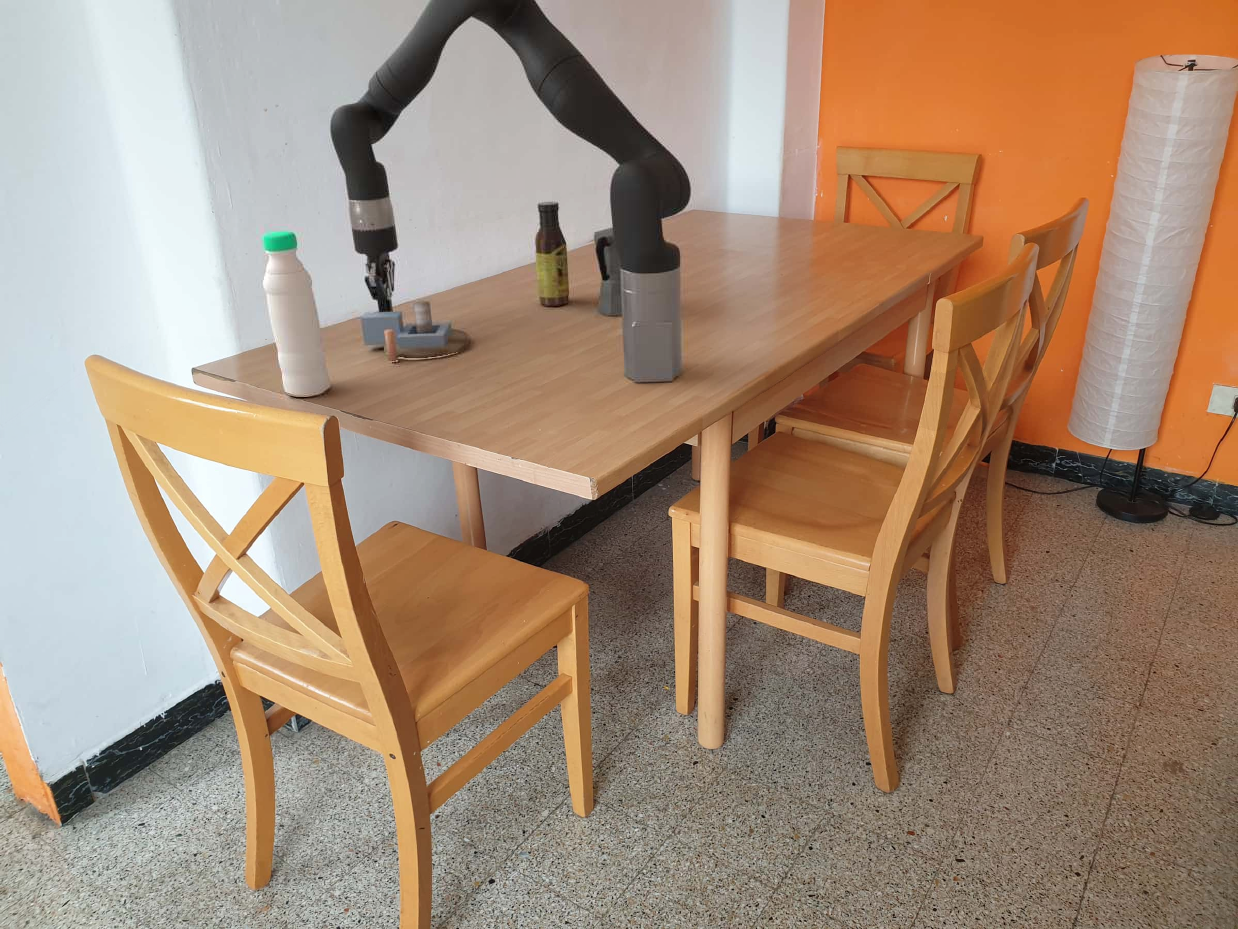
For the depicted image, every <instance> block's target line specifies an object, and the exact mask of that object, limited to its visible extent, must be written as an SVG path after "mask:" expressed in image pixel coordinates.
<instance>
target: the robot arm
mask: <svg viewBox="0 0 1238 929" xmlns="http://www.w3.org/2000/svg"><path fill="white" fill-rule="evenodd" d="M470 18H473V19H475V20H477V21H479V22H481V23H483V24H485V25H487V26H488V27H489V28H491V29H492V30H493V31H494V32H495V33H496V34H498V35H499V37H500V38H502V39H503V41H504V42H505V43H506V44H507V45H508V46H509V47H510V48H511V49H512V50H513V52H514V53H515V54H516V56H517V57H518V59H519V60H520V62H521V65H522V68H523V71H524V73H525V74H526V75H525V77H526V78H527V81H528V83H529V85H530V87H531V89H532V90H533V92H534V93H535V95H536V96H537V98H538V99H539V101H540V102H541V103H542V104H543V105H544V106H545V108H546V109H547V110H548V111H549V112H550V114H551V115H552V116H553V118H554V119H555V120H556V121H557V122H558V123H560V125H562V127H564V128H565V129H566V130H568V131H569V132H571V133H572V134H574V135H576V136H577V137H579V138H580V139H583V141H586V143H590V144H591V145H592V146H594V147H596V148H597V149H599V150H602V151H603V152H604V153H606V154H607V155H608V156H610V157H611V159H613V160H614V161H615V162H616V163H617V165H619V166H618V167H617V168H616V169H615V170H614V173H613V175H612V178H611V182H610V186H609V187H610V188H609V202H610V214H611V224H612V227H613V238H614V244H615V248H616V251H617V253H618V255H619V258H620V273H621V301H622V317H621V318H622V322H621V323H622V324H621V325H622V345H623V347H622V348H623V364H624V366H623V367H624V368H623V369H624V376H626V377H627V378H628V379H631V380H632V381H633V383H654V382H655V383H656V382H658V383H659V382H674V379H675V378H678V377H679V376H680V375H681V374H682V363H683V362H682V361H683V360H682V359H683V358H682V353H683V352H682V308H681V307H682V304H681V303H682V302H681V301H682V298H681V297H682V292H681V288H682V287H681V285H682V284H681V283H682V282H681V281H682V280H681V279H682V278H681V277H682V276H681V251H680V248H679V247H678V246H677V245H676V244H675V243H671V242H668V241H666V240H665V238H664V230H663V220H664V219H666V218H670V217H673V216H675V215H677V214H679V213H680V212H682V211H684V210H685V209H686V207H687V206H688V205H689V202H690V199H691V196H692V194H691V192H692V188H691V187H692V186H691V182H690V181H691V180H690V178H689V176H688V173H687V171H686V170H685V167H684V166H683V165H682V163H681V161H679V160H678V158H676V156H675V155H673V153H671V152H670V151H669V150H668V149H667V148H666V147H665V146H664V144H662V143H661V142H660V141H659V140H658V139H657V138H656V137H655V136H654V135H653V134H652V133H650V132H649V131H648V130H647V128H646V127H645V126H644V125H642V124H641V122H639V120H638V119H637V118H636V117H635V116H634V115H633V113H632V112H631V111H630V110H629V108H628V107H627V106H626V105H625V104H624V103H623V101H622V100H620V98H619V97H618V96H617V95H616V93H614V92H613V90H612V89H611V88H610V87H609V85H608V84H607V83H606V81H605V80H604V79H603V78H602V76H601V75H600V73H599V72H597V70H596V69H595V68H594V67H593V65H592V64H591V63H590V61H588V60H587V58H586V57H585V56H584V54H582V52H580V50H578V48H577V47H576V46H575V45H574V44H573V43H572V42H571V41H570V40H569V39H568V37H566V35H565V34H564V33H562V32H561V30H559V29H558V28H557V26H555V25H554V24H553V23H552V22H551V21H550V19H549V18H548V17H547V16H546V15H545V13H544V12H543V10H542V9H541V7H540V6H539V4H538V3H537V1H536V0H430V1H429V2H428V3H427V4H426V6H425V8H424V10H423V11H422V13H421V15H420V16H419V17H418V19H417V21H416V22H415V24H414V25H413V27H412V28H411V29H410V31H409V33H408V34H407V36H406V37H405V38H404V39H403V41H402V42H401V43H400V44H399V46H397V48H396V49H395V50H394V51H393V52H392V53H391V55H390V56H389V57H388V58H387V59H386V60H385V61H384V62H383V64H382V65H380V66H379V68H378V69H377V70H376V72H374V74H372V76H371V78H370V80H369V81H368V84H367V85H368V87H367V88H368V90H366V92H365V93H364V95H363V96H362V97H361V98H359V100H357V101H356V102H354V103H347V104H344V105H341V106H339V107H336V109H335V110H334V112H333V113H332V115H331V118H330V126H329V131H330V136H331V142H332V144H333V148H334V150H335V153H336V155H337V159H338V161H339V164H340V166H341V168H342V171H343V173H344V177H345V186H346V191H347V199H348V214H349V221H350V226H351V234H352V238H353V245H354V251H355V252H356V253H358V254H359V255H365V256H366V263H365V272H366V273H367V275H365V276H364V283H365V285H366V287H367V290H368V292H369V294H370V296H371V298H372V300H375V301H377V308H378V312H394V309H393V303H392V302H393V301H392V298H393V292H394V291H395V270H396V269H395V267H396V263H395V261H394V260H392V258H390V253H392V252H394V251H396V250H397V249H398V247H399V243H398V237H397V236H398V234H397V229H396V221H395V215H394V214H395V213H394V207H393V204H392V201H391V196H390V189H389V181H388V176H387V175H388V174H387V171H386V168H385V165H384V164H383V163H381V162H379V161H377V160H376V156H375V153H374V149H373V145H374V144H376V143H378V142H380V141H381V140H382V139H384V137H385V136H386V135H387V134H388V133H389V132H390V131H391V129H392V128H393V126H394V124H396V121H397V120H398V119H399V117H400V115H401V113H402V112H403V111H404V110H405V109H406V108H407V107H408V106H409V105H410V104H411V103H412V102H413V101H414V100H415V99H416V98H417V97H418V96H419V95H420V94H421V92H423V90H424V89H425V88H426V87H427V85H428V84H429V83H430V82H431V80H432V78H433V76H434V74H435V72H436V70H437V67H438V65H439V62H440V59H441V56H442V52H443V50H444V48H445V46H446V44H447V42H448V41H449V39H450V38H451V36H453V34H454V33H455V32H456V30H457V29H459V27H461V26H462V25H463V24H464V23H466V22H467V21H468V20H470ZM612 227H611V228H612Z"/></svg>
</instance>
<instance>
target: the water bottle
mask: <svg viewBox="0 0 1238 929" xmlns="http://www.w3.org/2000/svg"><path fill="white" fill-rule="evenodd" d="M262 245H263V248H264V250H265V253H266V254H267V255H268V256H269V258H268V262H267V265H266V271H265V274H264V277H263V282H262V285H263V290H264V291H265V293H266V299H267V300H266V301H267V309H268V314H269V319H270V325H271V329H272V330H271V331H272V334H273V337H274V341H275V344H276V345H275V346H276V348H277V358H278V364H279V367H280V370H281V376H282V377H281V378H282V385H283V391H284V390H285V391H284V393H285V392H287V393H290V394H294V395H311V394H317V393H321V392H323V391H325V390H327V389H328V388H329V389H330V387H331V380H330V376H329V371H328V368H327V366H326V365H327V364H326V363H327V362H326V361H327V360H326V354H325V349H324V346H323V344H322V332H321V327H320V326H321V325H320V320H319V314H318V309H317V304H316V300H315V299H316V298H315V297H314V296H315V295H314V292H313V288H312V286H313V279H312V277H311V275H310V273H309V272H308V270H307V269H306V268H305V267H304V264H303V262H302V261H301V260H300V259H299V258H298V256H297V253H296V252H297V251H298V240H297V236H296V234H295V233H294V232H292V231H286V230H283V231H282V230H281V231H273V232H269V233H266V234H264V235H263V236H262ZM329 389H328V390H329ZM328 390H327V391H328Z"/></svg>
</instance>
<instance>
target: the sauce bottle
mask: <svg viewBox="0 0 1238 929" xmlns="http://www.w3.org/2000/svg"><path fill="white" fill-rule="evenodd" d="M559 210H560V207H559V202H557V201H543V202H539V203H537V211H538V213H539V214H538V215H539V228H538V232H536V235H535V238H534V239H535V241H534V243H535V264H536V265H535V266H536V279H537V281H536V282H537V293H538V294H537V295H538V298H539V299H538V301H539V304H540V305H542V306H545V307H557V306H562V305H566V304H567V303H568V302H569V300H570V298H569V296H570V284H569V281H570V280H569V268H568V266H569V265H568V253H567V252H568V248H567V242H566V238H565V236H564V233H563V231H562V230H561V226H560V222H559Z"/></svg>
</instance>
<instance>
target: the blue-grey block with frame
mask: <svg viewBox="0 0 1238 929" xmlns="http://www.w3.org/2000/svg"><path fill="white" fill-rule="evenodd" d="M402 312H403V311H400V310H399V311H393V312H379V311H378V312H377V311H376V312H375V311H373V312H364V314H362V316H361V317H360V323H361V328H362V329H361V330H362V334H363V343H364V345H365V346H378V345H379V346H381V345H382V346H383V345H386V339H385V333H384V331H385V330H389V329H392V330H394V334H395V341H396V344H398V347H399V348H418V347H444V346H445V344H446V342H447V341H448V339H449V337H450V335H451V333H452V331H451V329H452V325H451V322H450V321H447V322H446V321H445V322H432V326H433V333H429V334H417V327H416V322H415V323H406V324H405V326H404V321H403V313H402Z"/></svg>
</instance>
